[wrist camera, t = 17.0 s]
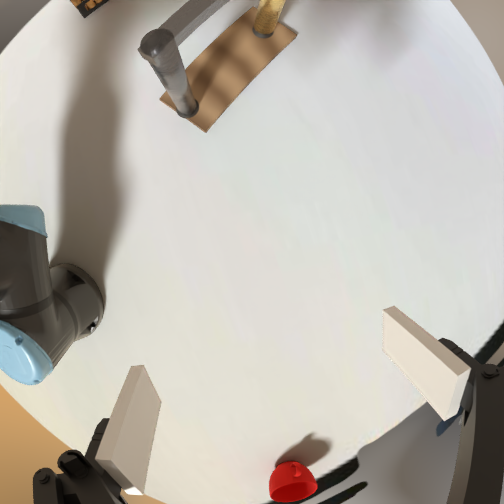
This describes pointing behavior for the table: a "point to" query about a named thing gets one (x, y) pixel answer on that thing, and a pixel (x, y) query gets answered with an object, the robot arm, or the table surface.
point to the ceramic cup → (291, 482)
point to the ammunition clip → (87, 6)
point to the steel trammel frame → (176, 50)
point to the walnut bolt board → (230, 67)
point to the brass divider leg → (268, 15)
